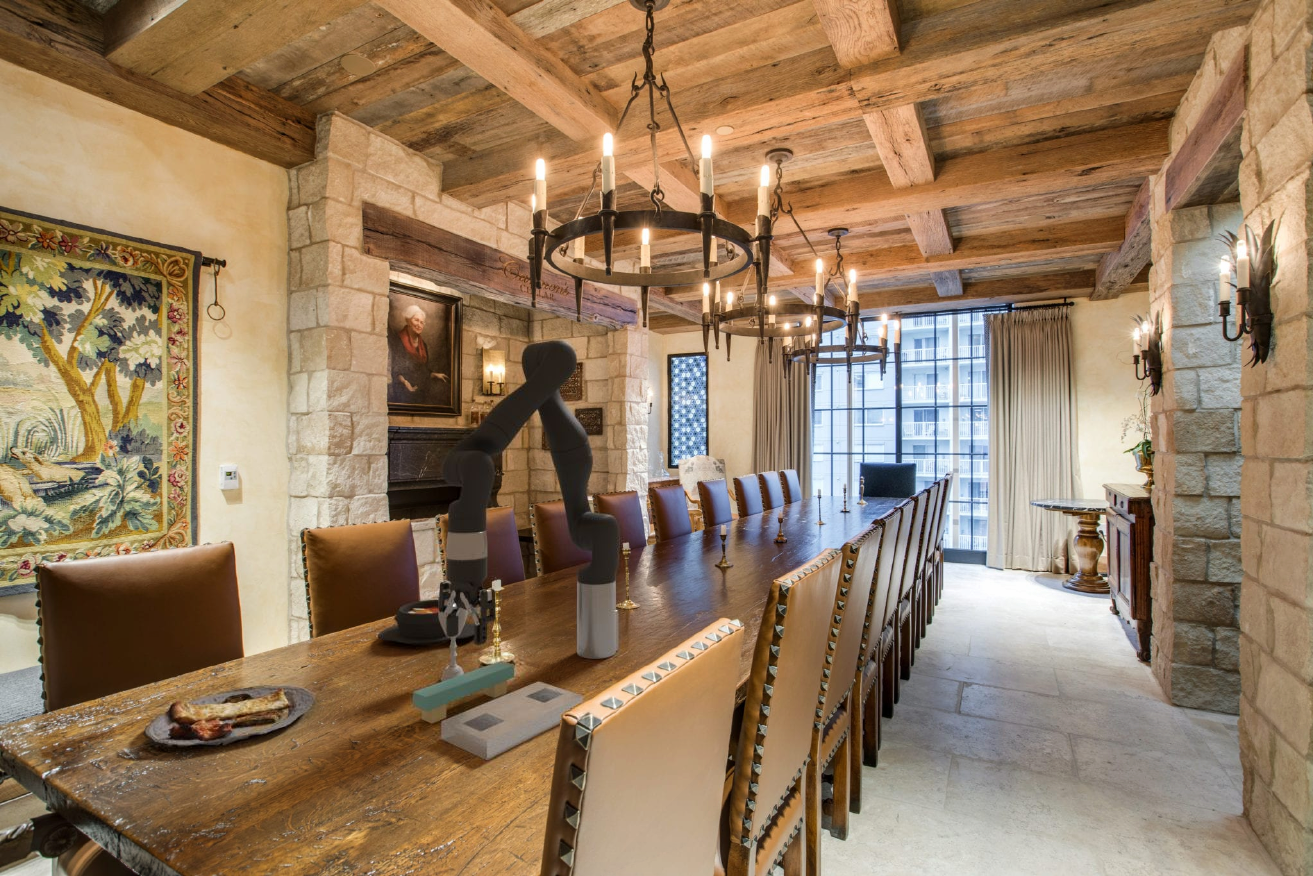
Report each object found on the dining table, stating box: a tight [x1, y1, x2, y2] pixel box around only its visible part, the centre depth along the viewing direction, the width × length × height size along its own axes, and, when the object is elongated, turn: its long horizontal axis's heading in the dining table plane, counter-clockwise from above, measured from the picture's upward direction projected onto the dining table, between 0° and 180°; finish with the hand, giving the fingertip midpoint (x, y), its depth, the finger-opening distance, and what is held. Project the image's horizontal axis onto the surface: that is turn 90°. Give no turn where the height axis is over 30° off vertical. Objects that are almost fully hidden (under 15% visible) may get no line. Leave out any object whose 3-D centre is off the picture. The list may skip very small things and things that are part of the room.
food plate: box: [143, 685, 315, 748], centre depth 112 cm, size 25×23×4 cm
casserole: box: [377, 599, 475, 646], centre depth 160 cm, size 25×19×8 cm
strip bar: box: [412, 660, 515, 724], centre depth 119 cm, size 20×4×5 cm, turn 144°
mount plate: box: [440, 681, 584, 761], centre depth 110 cm, size 22×12×3 cm, turn 144°
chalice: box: [435, 592, 469, 682], centre depth 133 cm, size 7×7×18 cm
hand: (465, 640), depth 119 cm, fingers open, 8 cm apart
